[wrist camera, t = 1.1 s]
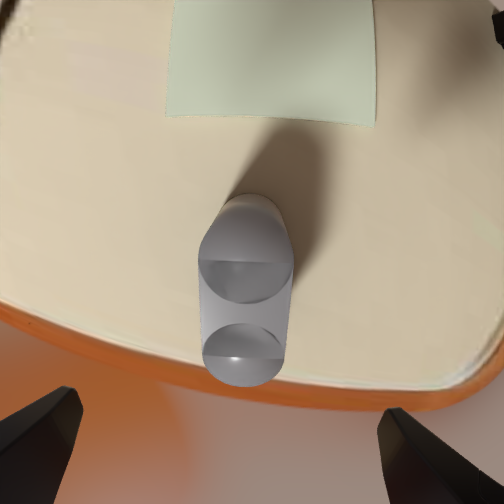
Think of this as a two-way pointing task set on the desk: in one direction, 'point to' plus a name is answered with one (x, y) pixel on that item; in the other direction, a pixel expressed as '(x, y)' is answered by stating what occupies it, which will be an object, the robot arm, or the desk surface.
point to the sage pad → (273, 60)
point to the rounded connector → (245, 291)
